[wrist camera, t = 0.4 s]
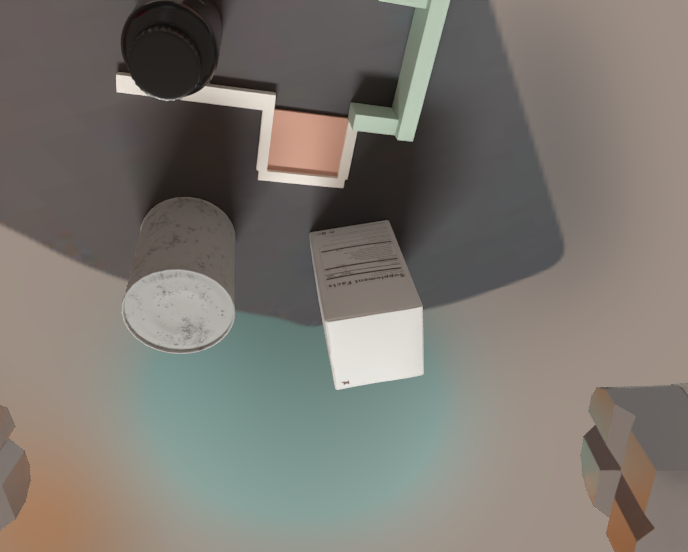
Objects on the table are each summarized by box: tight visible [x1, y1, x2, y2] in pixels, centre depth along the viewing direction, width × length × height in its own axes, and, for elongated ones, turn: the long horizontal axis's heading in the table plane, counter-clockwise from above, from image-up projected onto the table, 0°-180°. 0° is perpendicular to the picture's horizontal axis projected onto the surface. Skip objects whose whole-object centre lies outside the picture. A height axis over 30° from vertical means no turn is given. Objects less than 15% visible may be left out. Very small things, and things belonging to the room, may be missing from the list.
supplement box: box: [309, 220, 424, 389], centre depth 60 cm, size 9×9×15 cm
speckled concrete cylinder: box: [121, 197, 236, 354], centre depth 57 cm, size 10×10×12 cm
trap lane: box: [116, 0, 450, 188], centre depth 50 cm, size 26×26×4 cm
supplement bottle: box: [121, 0, 222, 101], centre depth 45 cm, size 7×7×12 cm
